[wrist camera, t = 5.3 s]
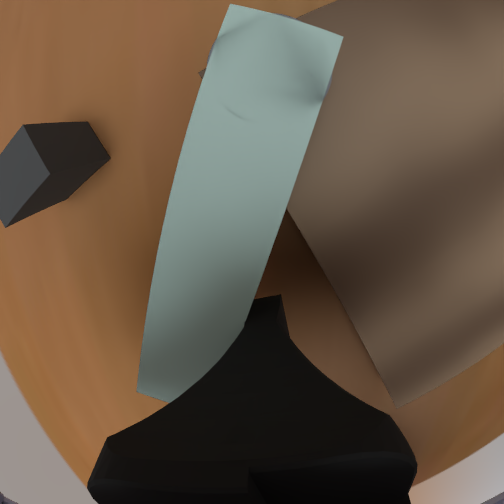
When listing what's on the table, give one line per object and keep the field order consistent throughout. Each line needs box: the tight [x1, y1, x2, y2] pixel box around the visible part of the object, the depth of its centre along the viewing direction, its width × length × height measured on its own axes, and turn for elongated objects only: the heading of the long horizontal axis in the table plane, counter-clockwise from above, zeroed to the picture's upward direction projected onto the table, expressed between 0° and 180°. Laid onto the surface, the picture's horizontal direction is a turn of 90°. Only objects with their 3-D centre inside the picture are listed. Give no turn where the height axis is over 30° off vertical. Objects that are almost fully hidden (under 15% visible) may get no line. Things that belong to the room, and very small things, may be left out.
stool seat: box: [199, 0, 504, 409], centre depth 10 cm, size 16×16×2 cm
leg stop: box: [0, 122, 111, 228], centre depth 10 cm, size 2×3×4 cm, turn 123°
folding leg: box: [137, 4, 343, 403], centre depth 8 cm, size 11×3×2 cm, turn 163°
